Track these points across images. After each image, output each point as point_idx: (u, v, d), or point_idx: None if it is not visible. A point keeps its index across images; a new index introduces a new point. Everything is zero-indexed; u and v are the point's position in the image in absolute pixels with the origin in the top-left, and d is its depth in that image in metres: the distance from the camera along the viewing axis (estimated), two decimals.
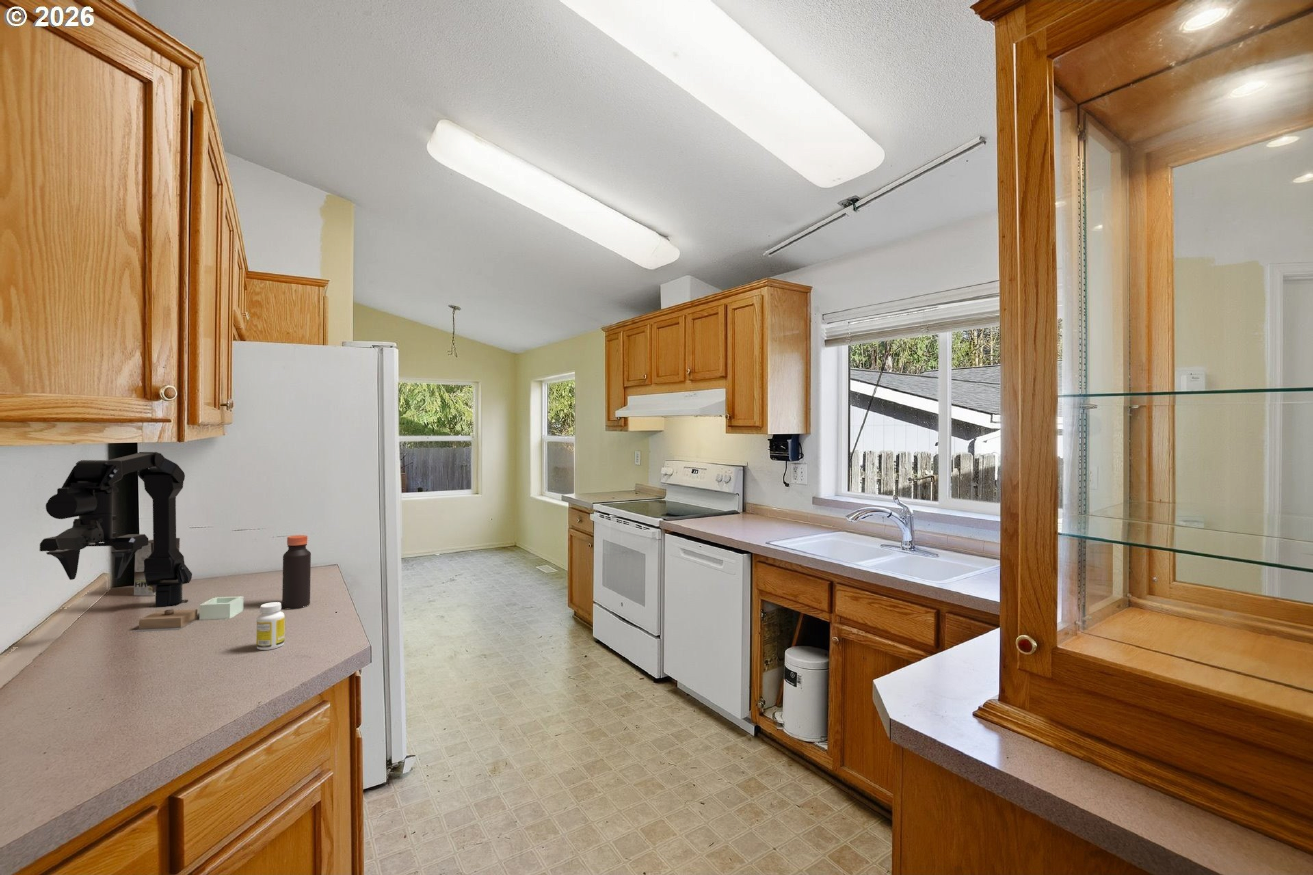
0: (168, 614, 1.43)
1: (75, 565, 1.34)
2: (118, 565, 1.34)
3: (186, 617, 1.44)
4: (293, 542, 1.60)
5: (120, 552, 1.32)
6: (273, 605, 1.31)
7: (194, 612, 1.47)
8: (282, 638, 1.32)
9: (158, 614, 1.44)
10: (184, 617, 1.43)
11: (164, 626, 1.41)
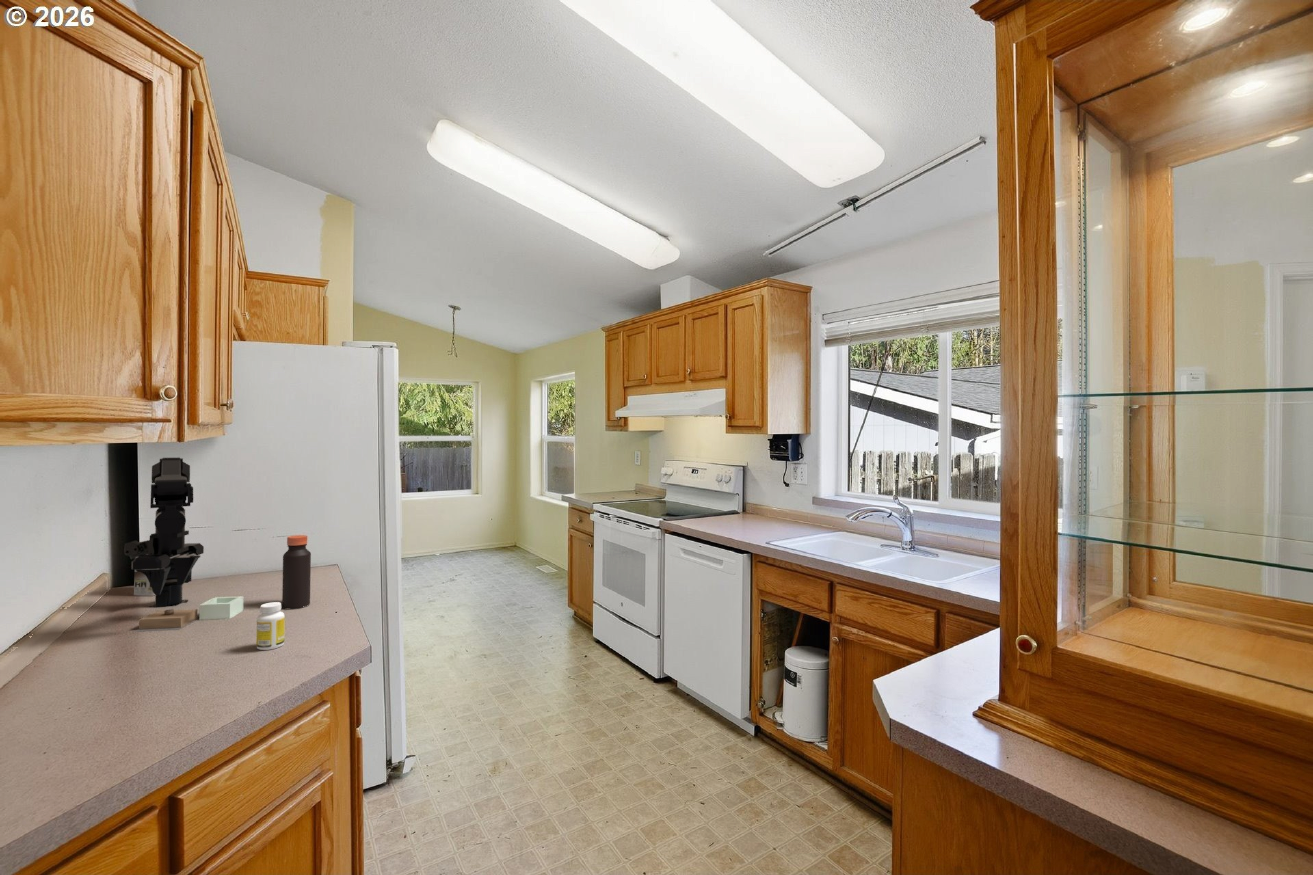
0: (168, 614, 1.43)
1: (184, 572, 1.49)
2: None
3: (186, 617, 1.44)
4: (293, 542, 1.60)
5: None
6: (273, 605, 1.31)
7: (194, 612, 1.47)
8: (282, 638, 1.32)
9: (158, 614, 1.44)
10: (184, 617, 1.43)
11: (164, 626, 1.41)
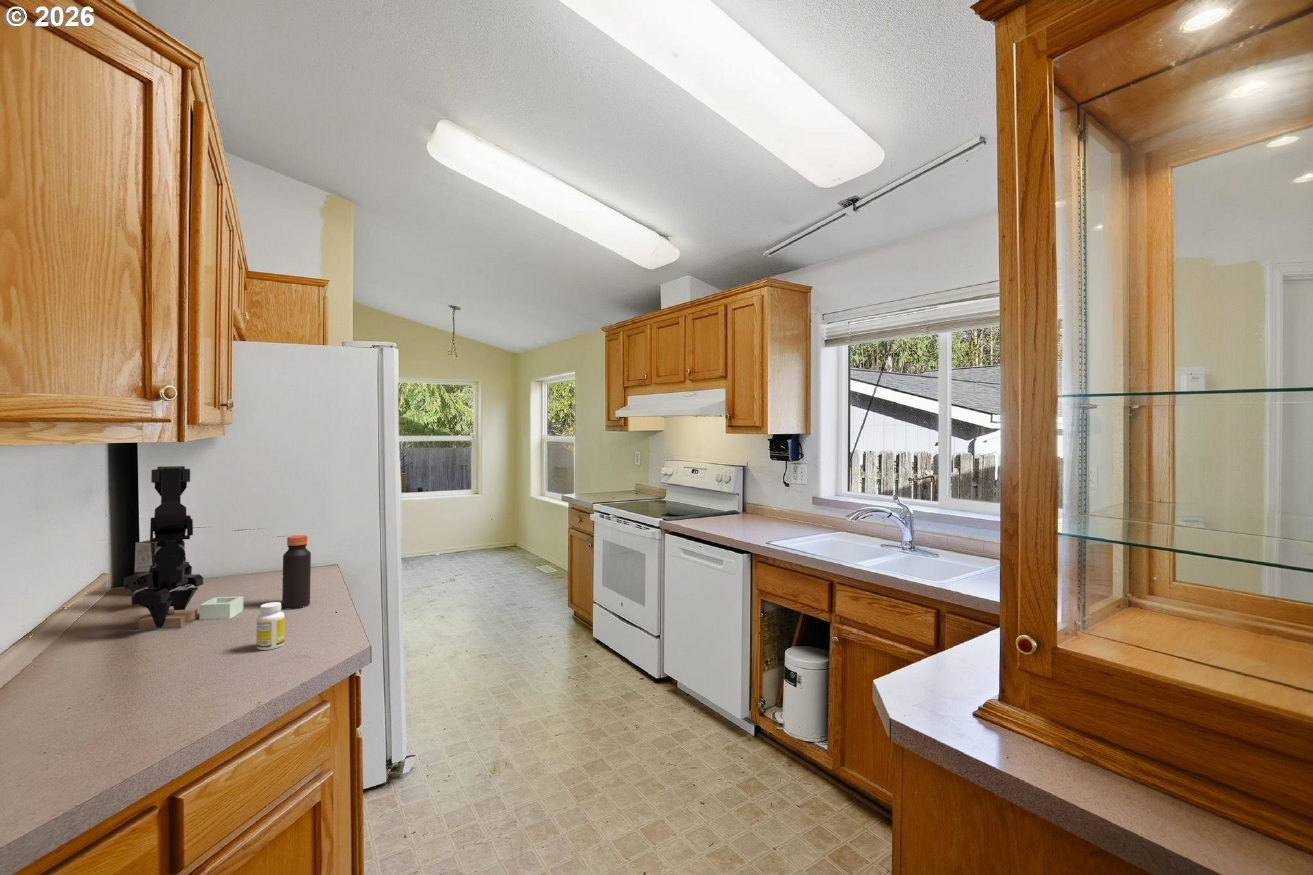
0: (168, 614, 1.43)
1: (181, 605, 1.48)
2: None
3: (186, 617, 1.44)
4: (293, 542, 1.60)
5: None
6: (273, 605, 1.31)
7: (194, 612, 1.47)
8: (282, 638, 1.32)
9: None
10: (184, 617, 1.43)
11: (164, 626, 1.41)
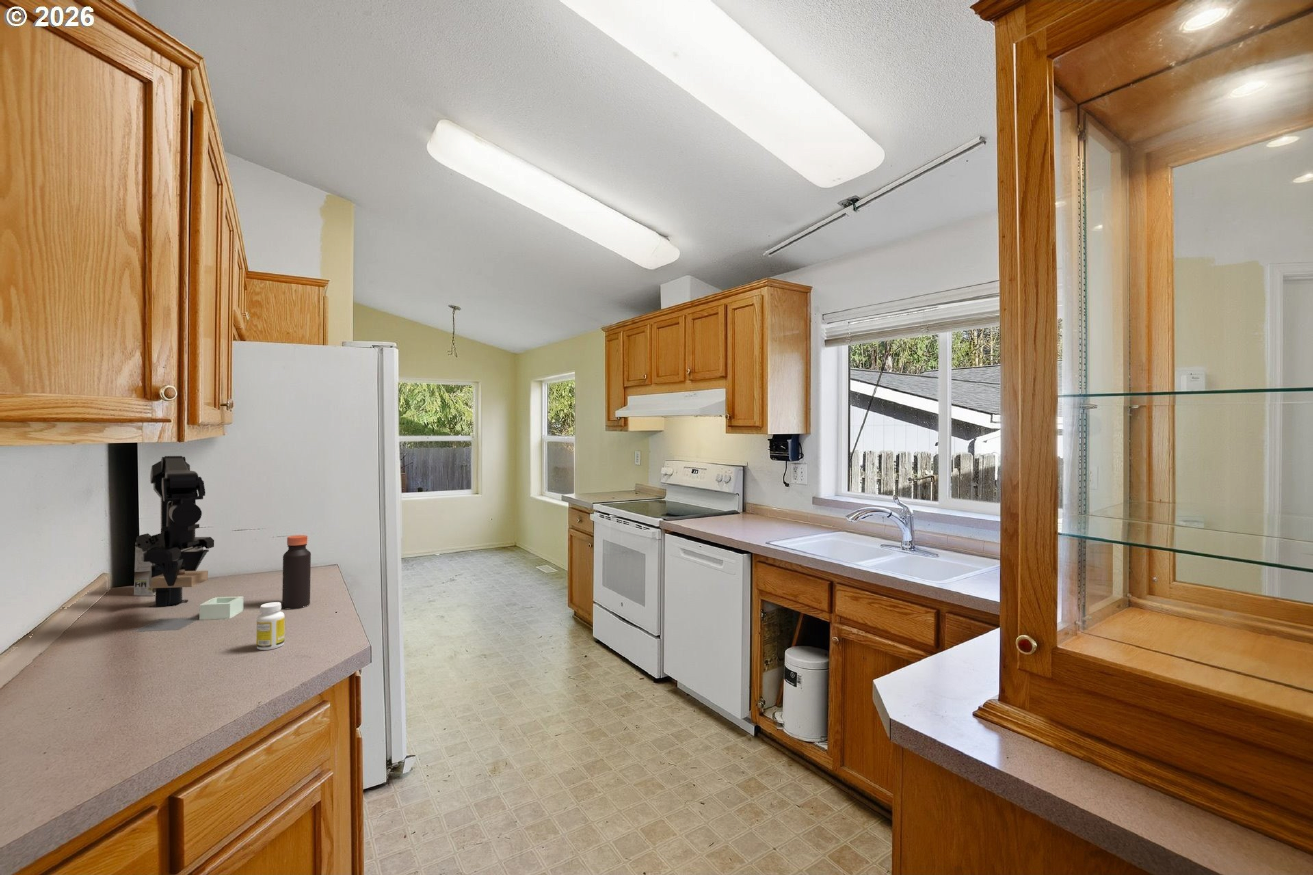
0: (179, 574, 1.45)
1: (193, 566, 1.49)
2: None
3: (197, 577, 1.45)
4: (293, 542, 1.60)
5: None
6: (273, 605, 1.31)
7: (205, 573, 1.48)
8: (282, 638, 1.32)
9: None
10: (195, 577, 1.44)
11: (175, 585, 1.42)
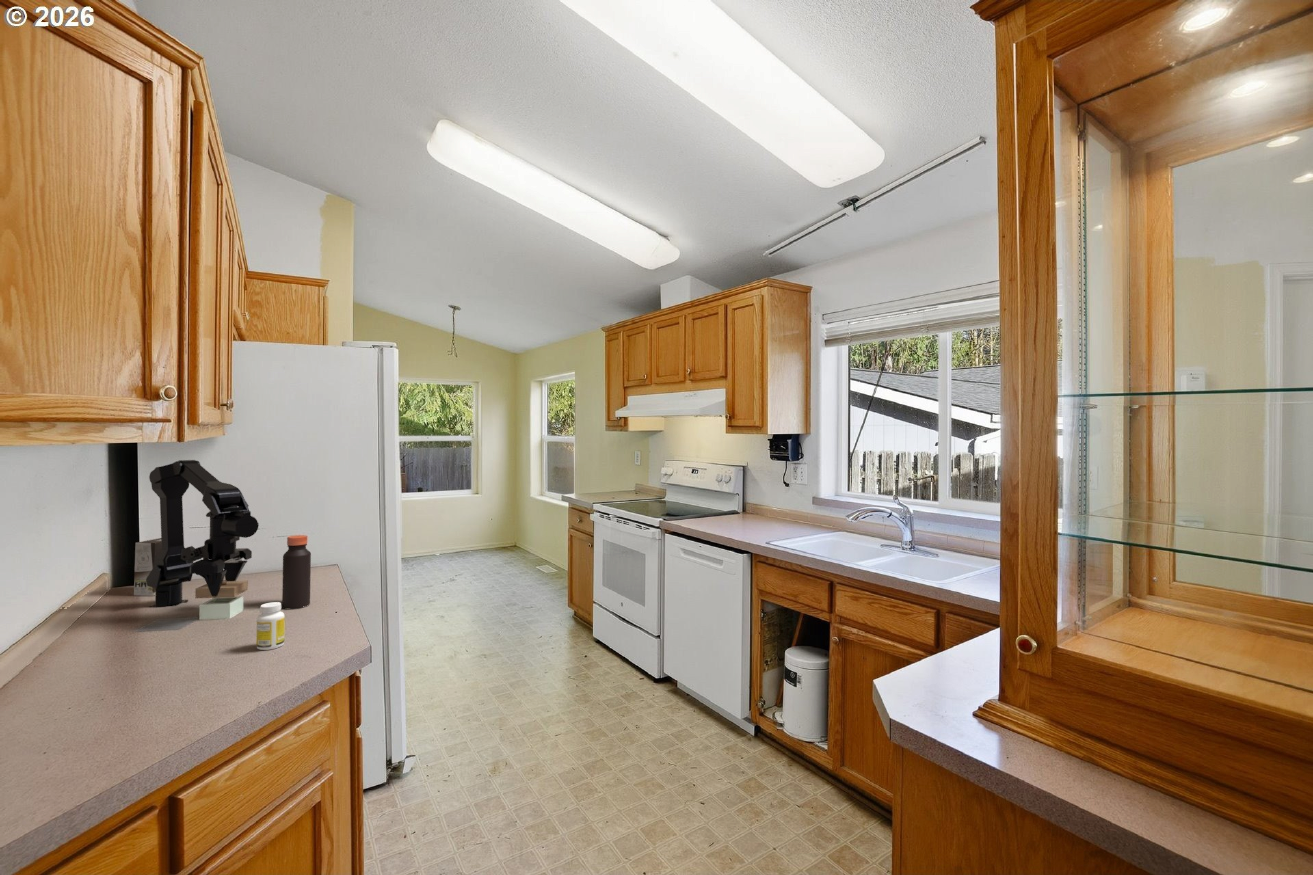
0: (222, 584, 1.51)
1: (233, 577, 1.55)
2: None
3: (238, 587, 1.51)
4: (293, 542, 1.60)
5: None
6: (273, 605, 1.31)
7: (245, 583, 1.55)
8: (282, 638, 1.32)
9: None
10: (237, 587, 1.51)
11: (219, 595, 1.49)
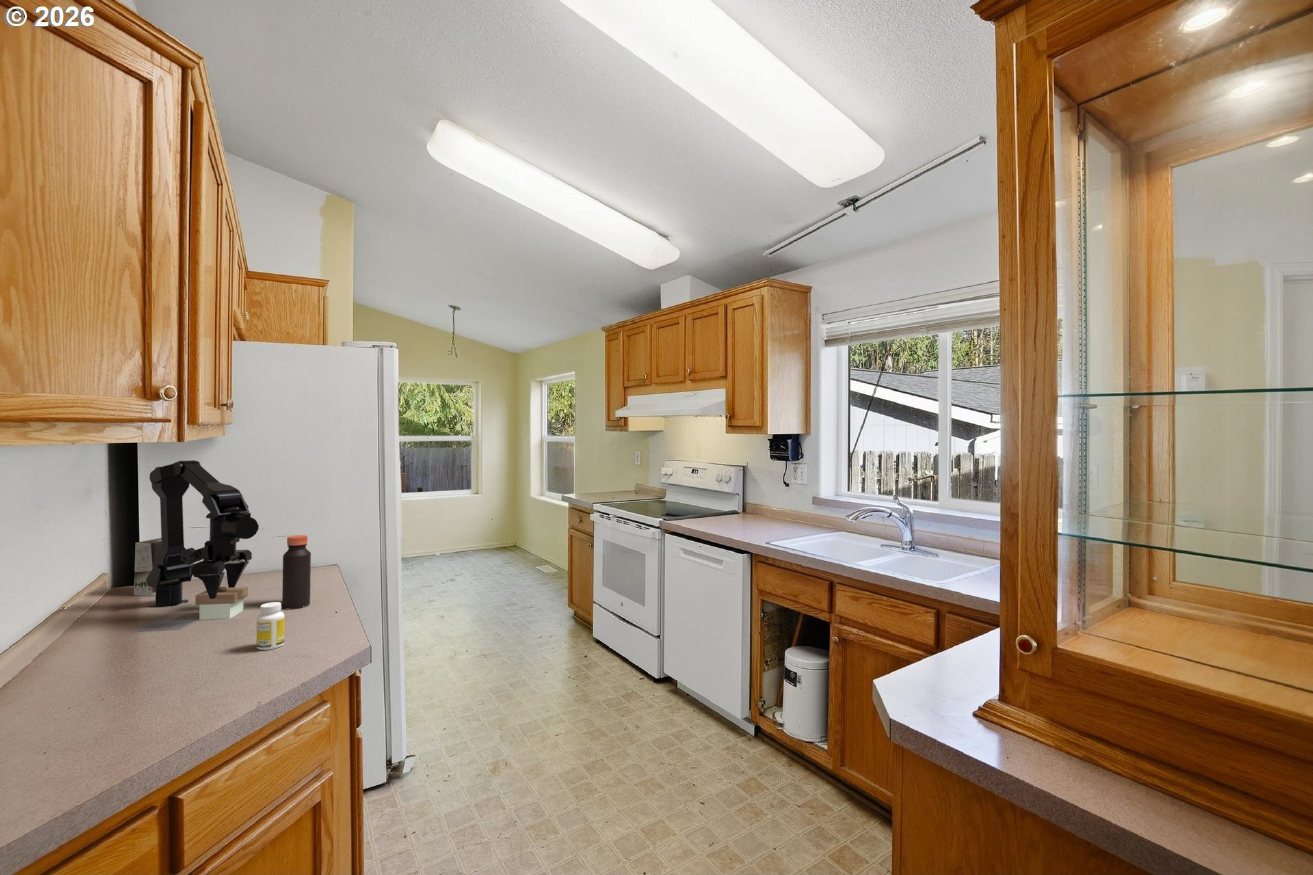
0: (222, 591, 1.51)
1: (234, 577, 1.56)
2: None
3: (239, 594, 1.51)
4: (293, 542, 1.60)
5: None
6: (273, 605, 1.31)
7: (245, 589, 1.55)
8: (282, 638, 1.32)
9: None
10: (237, 593, 1.51)
11: (219, 602, 1.49)
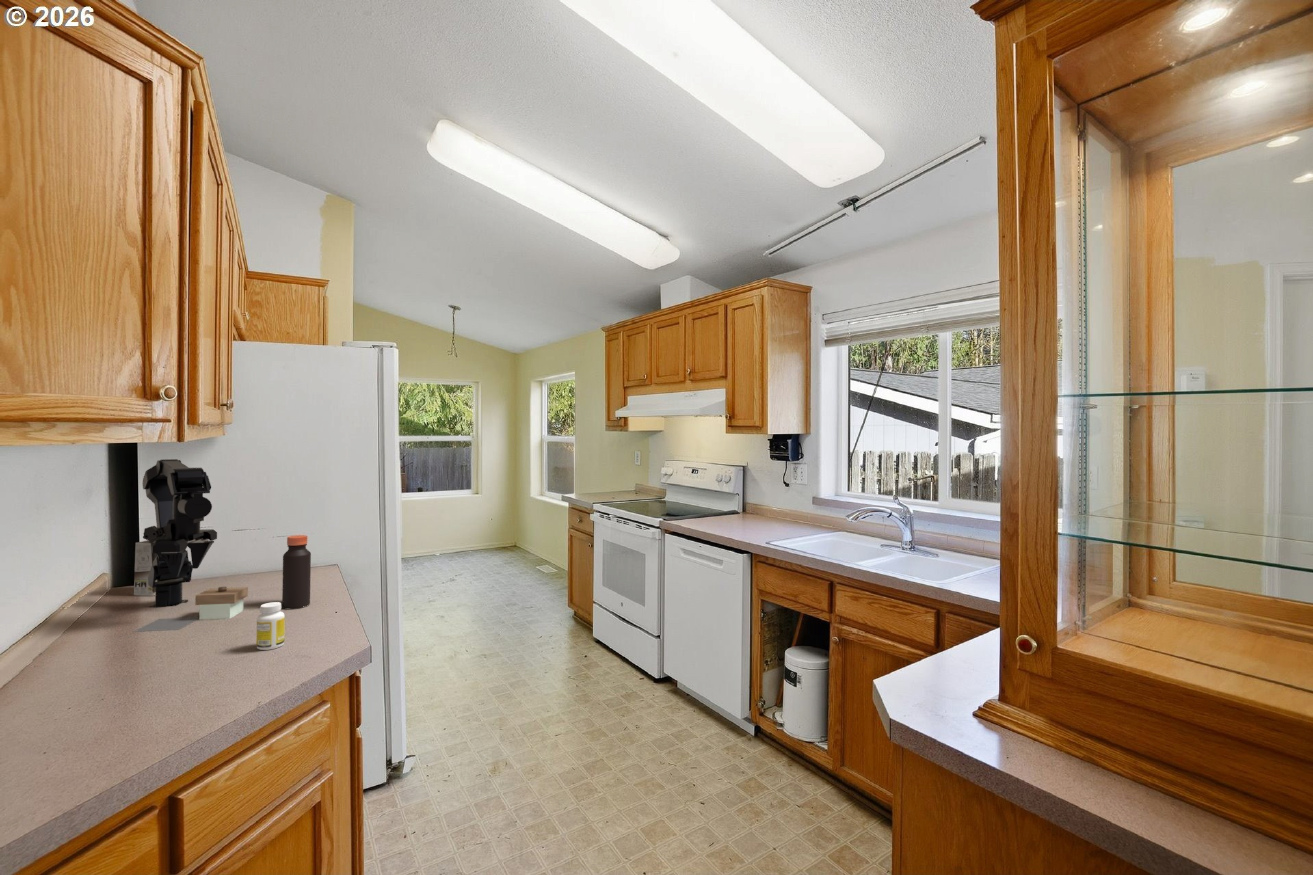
0: (222, 591, 1.51)
1: (199, 557, 1.56)
2: None
3: (239, 594, 1.51)
4: (293, 542, 1.60)
5: None
6: (273, 605, 1.31)
7: (245, 589, 1.55)
8: (282, 638, 1.32)
9: (212, 591, 1.51)
10: (237, 593, 1.51)
11: (219, 602, 1.49)
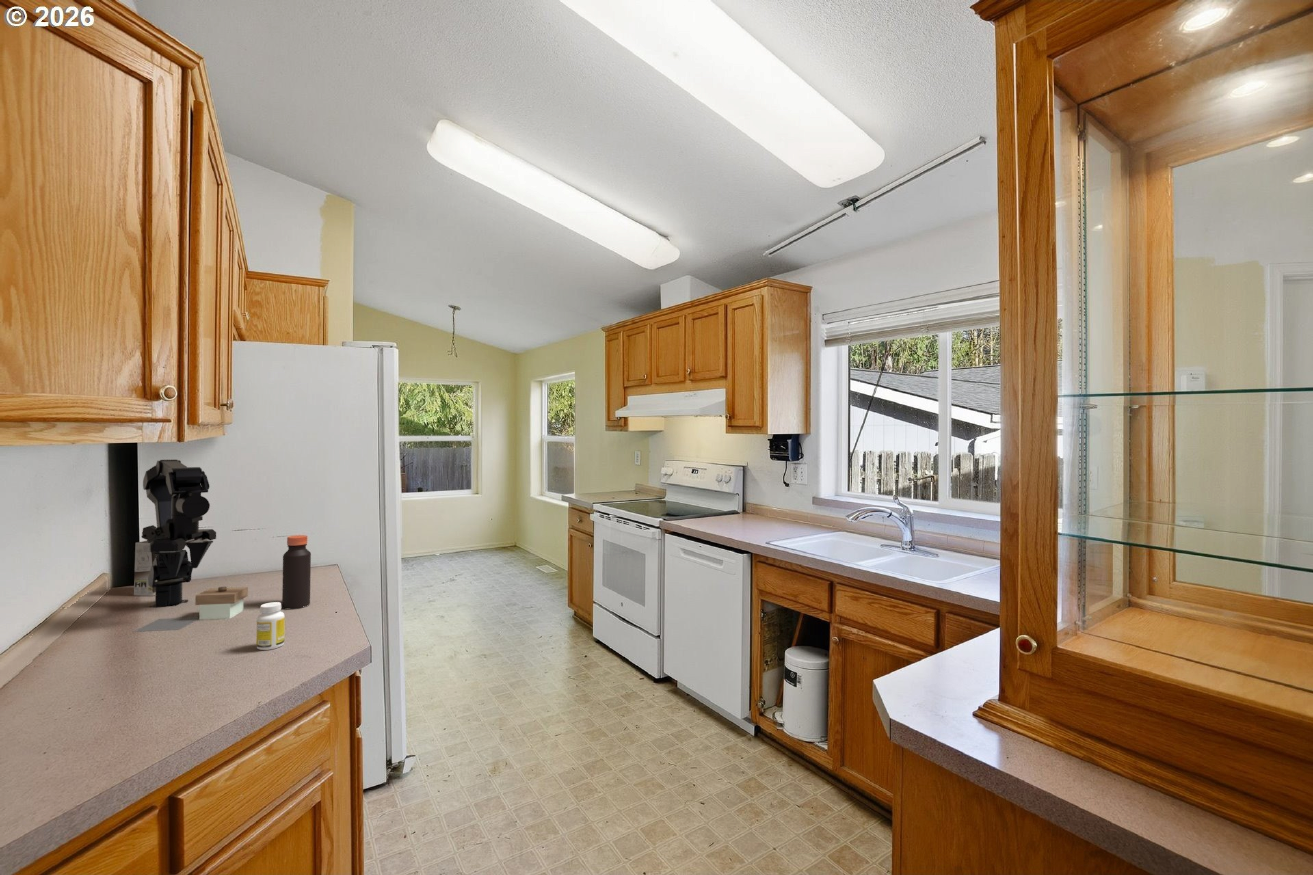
0: (222, 591, 1.51)
1: (198, 556, 1.56)
2: None
3: (239, 594, 1.51)
4: (293, 542, 1.60)
5: None
6: (273, 605, 1.31)
7: (245, 589, 1.55)
8: (282, 638, 1.32)
9: (212, 591, 1.51)
10: (237, 593, 1.51)
11: (219, 602, 1.49)
